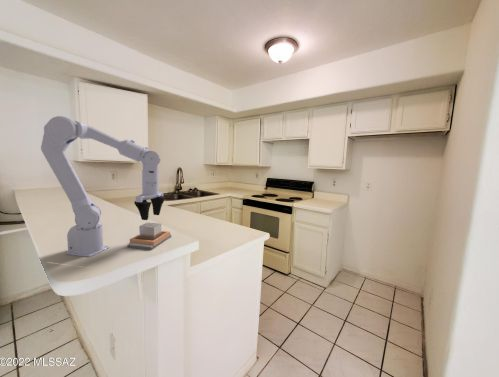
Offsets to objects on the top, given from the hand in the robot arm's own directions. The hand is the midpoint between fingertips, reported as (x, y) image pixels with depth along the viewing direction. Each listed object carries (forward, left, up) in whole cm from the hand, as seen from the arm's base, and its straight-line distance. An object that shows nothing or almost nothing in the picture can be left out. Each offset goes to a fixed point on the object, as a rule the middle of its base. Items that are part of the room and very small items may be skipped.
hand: (150, 217), depth 81 cm
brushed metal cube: (0, 0, -9) cm, 9 cm away
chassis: (0, 0, -10) cm, 10 cm away
